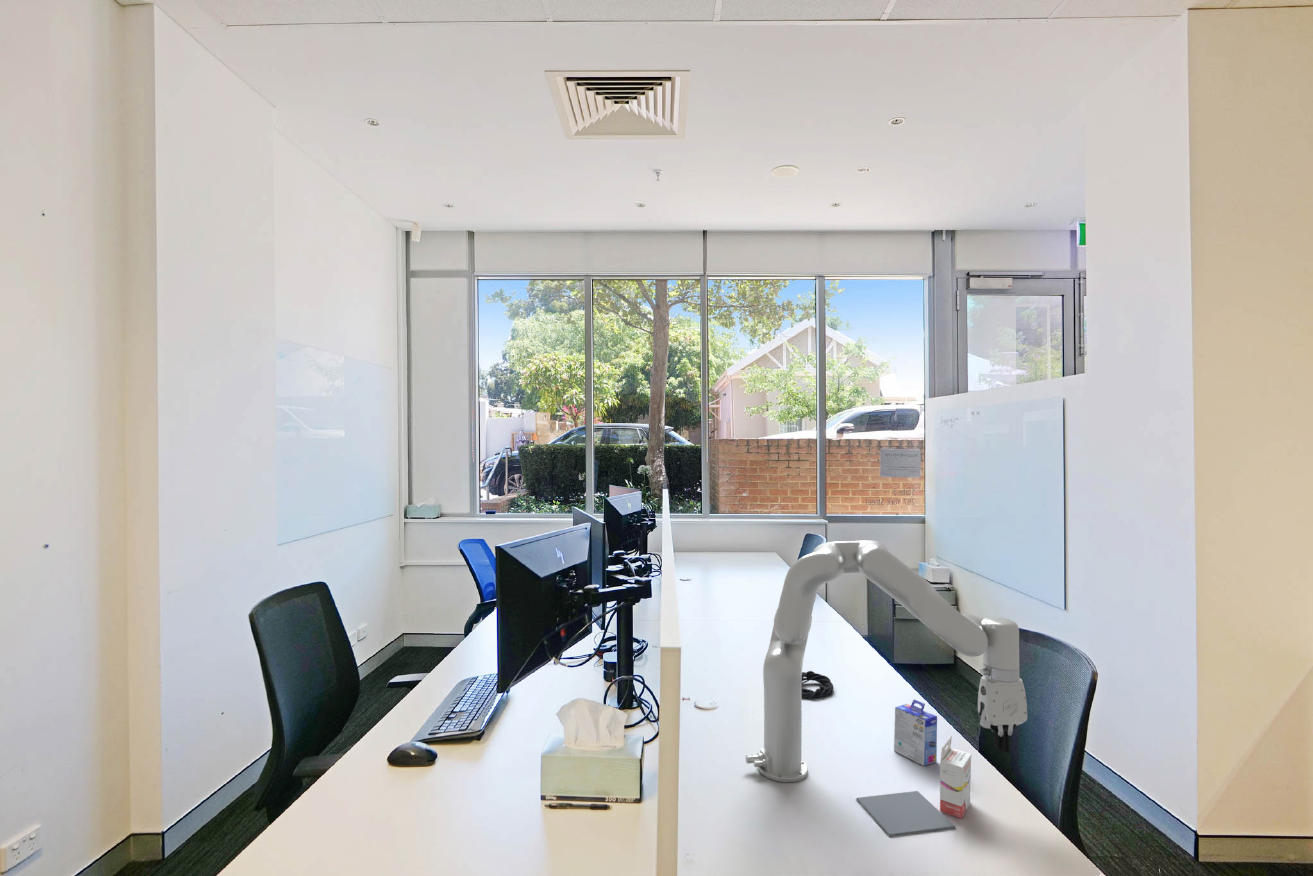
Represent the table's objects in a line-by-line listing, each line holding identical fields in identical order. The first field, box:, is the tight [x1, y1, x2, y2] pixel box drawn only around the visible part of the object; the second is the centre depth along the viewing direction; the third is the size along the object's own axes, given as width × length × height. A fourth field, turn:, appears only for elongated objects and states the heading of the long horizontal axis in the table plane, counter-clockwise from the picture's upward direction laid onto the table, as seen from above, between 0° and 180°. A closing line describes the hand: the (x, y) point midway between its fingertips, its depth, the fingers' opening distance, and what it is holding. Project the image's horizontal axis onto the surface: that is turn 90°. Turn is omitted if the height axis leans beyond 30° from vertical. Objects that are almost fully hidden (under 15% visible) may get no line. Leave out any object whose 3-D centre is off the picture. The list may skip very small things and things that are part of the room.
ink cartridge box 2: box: [939, 735, 972, 819], centre depth 147 cm, size 9×5×15 cm, turn 141°
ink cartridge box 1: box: [893, 698, 938, 767], centre depth 170 cm, size 10×6×14 cm, turn 31°
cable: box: [801, 670, 834, 700], centre depth 215 cm, size 17×14×4 cm
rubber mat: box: [855, 790, 956, 837], centre depth 144 cm, size 16×14×1 cm
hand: (1001, 750), depth 149 cm, fingers closed
